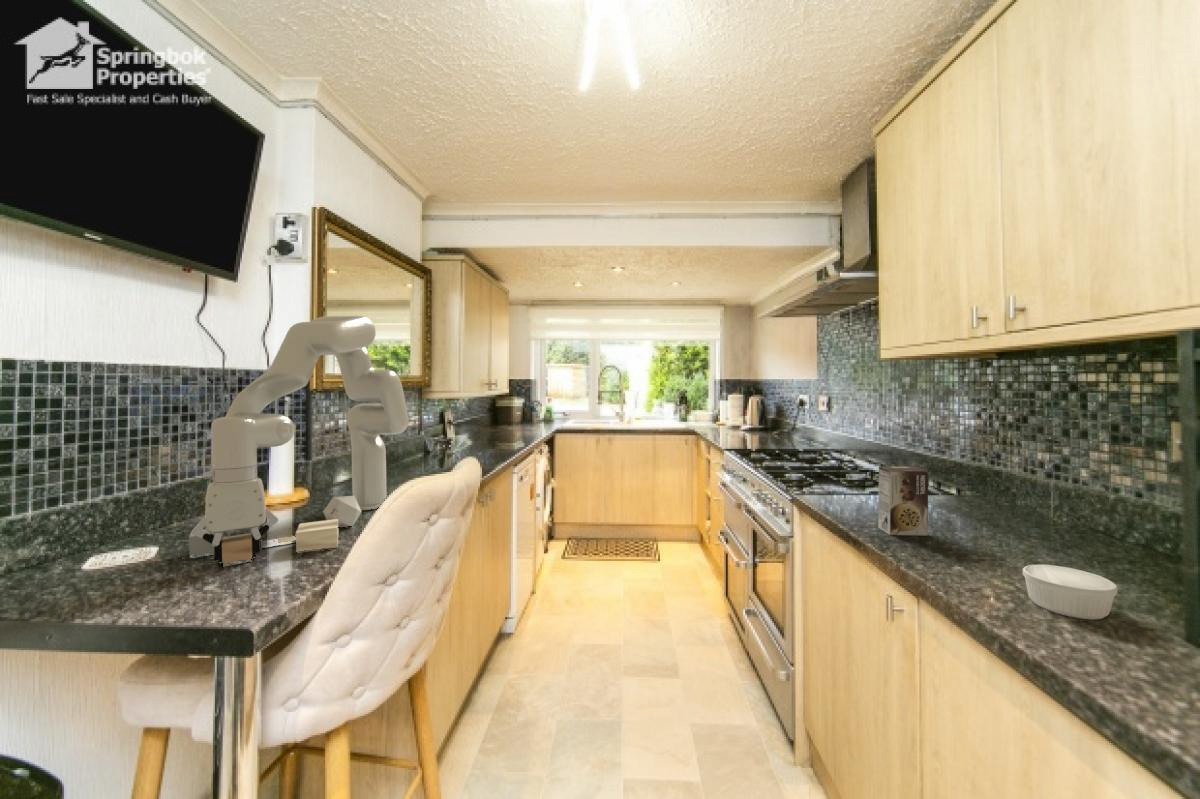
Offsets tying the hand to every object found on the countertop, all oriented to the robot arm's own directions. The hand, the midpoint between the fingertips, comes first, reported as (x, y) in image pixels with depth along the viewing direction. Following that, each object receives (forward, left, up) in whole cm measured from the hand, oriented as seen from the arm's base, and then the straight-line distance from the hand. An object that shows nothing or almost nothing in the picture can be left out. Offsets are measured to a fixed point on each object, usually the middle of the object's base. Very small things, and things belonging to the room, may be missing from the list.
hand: (237, 558), depth 102 cm
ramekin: (+109, +113, -1) cm, 157 cm away
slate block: (-10, -6, -1) cm, 12 cm away
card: (-9, +8, -1) cm, 12 cm away
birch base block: (-1, +15, -1) cm, 15 cm away
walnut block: (0, 0, -1) cm, 1 cm away
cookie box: (+75, +135, -1) cm, 154 cm away
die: (-15, +22, -1) cm, 27 cm away
